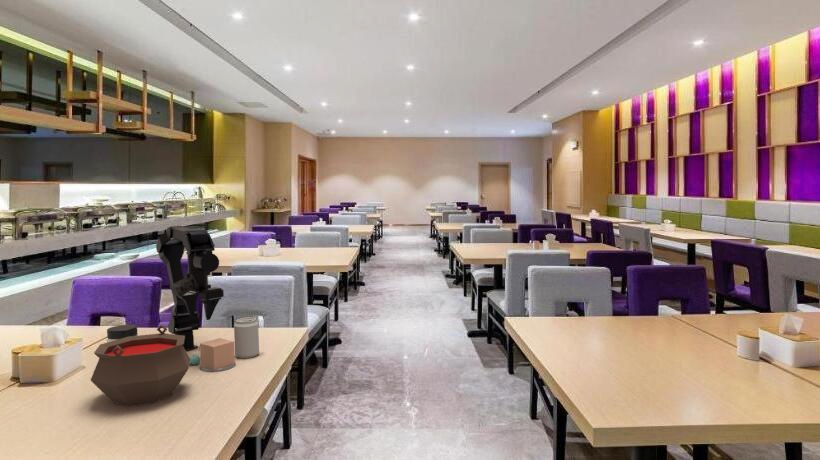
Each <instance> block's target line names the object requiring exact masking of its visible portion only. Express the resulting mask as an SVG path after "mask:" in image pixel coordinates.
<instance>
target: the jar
mask: <svg viewBox="0 0 820 460" xmlns="http://www.w3.org/2000/svg"><path fill="white" fill-rule="evenodd" d="M129 336H139V334H138V325H136V324H121V325H115V326H111V327H108V328H107V329H106V337H107V339H106V343H107V342H111V341H115V340H118V339H122V338H125V337H129Z"/></svg>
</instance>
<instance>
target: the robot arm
mask: <svg viewBox="0 0 820 460" xmlns="http://www.w3.org/2000/svg"><path fill="white" fill-rule="evenodd" d="M155 246H156V247H155V248H156V253H158V256H159V257H158V258H159V260H161V262H162V263H164V264H165V265H166V268H167V274H168V278H169V279H168V280H169V284H170V285H169V288H170V290H171V294H172V299H173V304H174V306H173V308H172V310H171V312H170V315H171V317H170V319H169V322H168V324H167V331H168V333H169V334H174V335H182V336H185V339H184V344H183V347H184V349H185V350H186V352H187V351H190V350H194V349H197V348H199V346H198V345H196V344H195V342H194V341H195V340H194V331H197V330H198V331H199V328H200V320H201V316H200V313H199V312H198V311H197V310H198V309H197V302H198V296H199V298H201V299H199V301H200V302H201V303H202V304H203V307H204V308H203V309H204V314H205V320H207V321H209V320H211V318H212V316H213V314H214V311H215V309H216V307H217V305H218V303H219V302H220V300H222V298H224V297H225V294H224V293H225V291H224V289H223V288H221V287H218V286H217V287H216V286H213V287H212V284H209V280H208V279H209V276H211V275H212V274H211V273H213V272H214V271H216V270H217V269H218V268H219V265H220V260H219V259H220V258H219V257H218V256H217V255H216V254H215V253H213V252H214V251H215V243H214V240H213V239H212V236H211V234H210V233H209V230H207V229H206V228H205V229H204V228H203V229H190V228H187V227H184V226H182V225H175V226H173V225H172V226H171V225H170V226H169V227H166V230H165V232H163V234H161V235H160V236H159V237H158V238H157V242H156V245H155ZM185 251H186V252H185ZM184 253H186V255H187V272H184V270H183V269H184V268H183V266H182V259H183V256H184ZM184 273H185V274H184Z"/></svg>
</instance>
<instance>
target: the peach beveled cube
mask: <svg viewBox="0 0 820 460" xmlns="http://www.w3.org/2000/svg"><path fill="white" fill-rule="evenodd" d="M199 354H200V355H199V357H200V367H205V368H208V369H211V370H218V369H221V368H224V367H227V366H231V365H234V364H235V363H236V362H235V361H236V360H235V359H236V357H235V356H236V355H235V340H234V341H233V340H229V339H225V338H220V337H219V338H215V339H212V340H208V341H204V342H200V343H199Z"/></svg>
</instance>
